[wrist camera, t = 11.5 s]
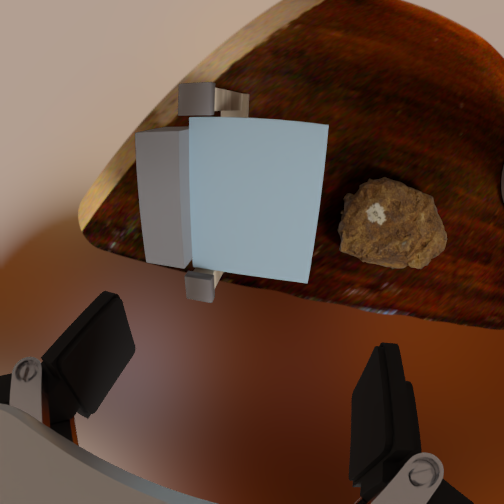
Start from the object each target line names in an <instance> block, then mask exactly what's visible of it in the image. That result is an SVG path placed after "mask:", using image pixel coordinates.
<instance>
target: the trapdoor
mask: <svg viewBox="0 0 504 504" xmlns="http://www.w3.org/2000/svg"><path fill="white" fill-rule="evenodd" d="M328 127H329V125H325V124H318V123H309V122H300V121H290V120H278V119H264V118H245V117H189V127H162V128H156V129H151V130H146V131H141V132H137V133H135V146H136V166H137V181H138V194H139V205H140V215H141V224H142V233H143V241H144V248H145V255H146V262H148V263H154V264H160V265H166V266H172V267H178V268H185V267H186V266H187V265H188V263H189V262H190V261H191V259H192V258H193V267H197V268H203V269H210V270H216V271H223V272H230V273H237V274H243V275H250V276H257V277H264V278H271V279H279V280H286V281H293V282H301V283H308V278H309V272H310V266H311V260H312V254H313V248H314V241H315V235H316V228H317V221H318V214H319V207H320V199H321V191H322V183H323V175H324V166H325V157H326V148H327V138H328Z"/></svg>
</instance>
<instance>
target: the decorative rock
mask: <svg viewBox="0 0 504 504" xmlns="http://www.w3.org/2000/svg"><path fill="white" fill-rule="evenodd" d="M344 201H345V203H344V211H343V210H342V211H341V214H342V217H341V221H340V223H339V227H338V232H339V235H340V238H341V244H340V248H339V250H340V251H341V252H344V253H348V254H350V255H352V256H355V257H358V258H359V259H361V260H362V261H363V262H367V263H374V264H378V265H382V266H385V267H391V268H405V267H406V266H410V267H412V268H417V269H422V268H423V267H424V266H425V265H426V266H427V265H428V264H429V262H430V261H431V259H432V258H434V257H436V256H438V255H439V254H440V253H441V252H442V251H443V250H444V249H445V245H446V241H447V235H446V232H445V231H444V226H443V223H442V220H441V218H440V217H439V215H438V213H437V209H436V206H435V204H434V200H433V197H432V196H430V195H427V194H425V193H422V192H421V191H419V190H416V189H413V188H411V187H407V186H406V185H405V184H403V183H402V182H398V181H394V180H391V179H389V178H386V177H383V178H380V179H376V180H372V179H369V180H368V182H366V183H363V184H361V185H360V187H359V190H358V191H357V192H356V193H355V195H353V194H351V193H347V194H346V195H345V197H344Z"/></svg>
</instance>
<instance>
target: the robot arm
mask: <svg viewBox="0 0 504 504" xmlns="http://www.w3.org/2000/svg"><path fill="white" fill-rule="evenodd" d="M501 191H502V198H503V201H504V166H503V170H502V178H501ZM134 353H135V344H134V341H133V338H132V334H131V331H130V327H129V324H128V321H127V317H126V313H125V310H124V306H123V302H122V300H121V299H120V297H119V295H118V294H115V293H111V292H107V291H104V292H102V293H101V294H100V295H99V296H98V297H97V298H96V299H95V300H94V301H93V302H92V303H91V304H90V305H89V306H88V307H87V308H86V309H85V310H84V311H83V312H82V314H81V315H80V316H79V317H78V318H77V319H76V320H75V321H74V322H73V323H72V324H71V325H70V326H69V327H68V328H67V330H65V332H64V333H63V334H62V335H61V336H60V337H59V338H58V339H57V340H56V342H55V343H54V344H53V345H52V346H51V347H50V348H49V349H48V351H47V352H46V353H45V354H44V355H43V356H42V357H41V358H42V360H43V362H42V363H40V361H39V360H38V359H36V358H34V357H26V358H23V359H21V360H20V361H19V362H18V363H17V364H16V365H15V366H14V368H13V371H12V373H11V374H7V375H2V376H0V504H217V503H213V502H210V501H206V500H203V499H199V498H196V497H192V496H189V495H186V494H183V493H180V492H177V491H174V490H171V489H168V488H166V487H163V486H161V485H158V484H155V483H153V482H150V481H148V480H145V479H143V478H141V477H138V476H136V475H134V474H131V473H129V472H127V471H125V470H123V469H121V468H119V467H117V466H114V465H113V464H110V463H109V462H107V461H105V460H103V459H101V458H99V457H97V456H95V455H93V454H92V453H90V452H88V451H86V450H85V449H83V448H81V447H79V445H78V438H77V432H76V425H75V418H74V415H75V414H76V412H78V413H79V414H80V415H82V416H84V417H86V418H89V416H90V415H91V414H93V413H95V412H96V410H97V409H98V407H99V406H100V404H101V403H102V401H103V400H104V398H105V397H106V395H107V394H108V392H109V391H110V389H111V387H112V386H113V384H114V383H115V381H116V380H117V378H118V377H119V375H120V374H121V372H122V371H123V369H124V368H125V367H126V365H127V363H128V362H129V361H130V359H131V358H132V356H133V354H134ZM351 415H352V416H351V447H350V465H349V480H350V481H351V480H352V481H353V487H361V492H360V496H361V498H360V499H359V500H358V501H357V502H356V503H355V504H474V503H473V502H472V501H470V500H469V499H468V498H467V497H465V496H464V495H463V494H461V493H460V492H459V491H458V490H456V489H455V488H454V487H452V486H451V485H450V484H449V483H448V482H446V481H445V480H444V479H443V473H444V470H443V465H442V463H441V461H440V460H439V459H438V458H437V457H436V456H435V455H432V454H430V453H421V442H420V432H419V424H418V417H417V410H416V403H415V397H414V392H413V386H412V384H411V382H409V381H405V376H404V370H403V365H402V360H401V355H400V350H399V346H398V345H397V344H393V343H381V344H380V346H376V347H375V348H374V350H373V352H372V354H371V357H370V359H369V361H368V363H367V365H366V367H365V369H364V371H363V373H362V375H361V377H360V379H359V381H358V383H357V385H356V387H355V389H354V391H353V394H352V414H351Z"/></svg>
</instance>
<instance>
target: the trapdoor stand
mask: <svg viewBox="0 0 504 504" xmlns="http://www.w3.org/2000/svg"><path fill="white" fill-rule="evenodd" d="M248 110H249V94H242V93H238V92H234V91H229V90H224V89H220V88H215V83H213V82H202V83H184V84H179V96H178V116H189V115H214V111H221V117H245V118H248ZM222 274H223V271H216V270H210V269H203V268H197V267H196V268H195V270H194V271H188V272H187V274H186V275H185V286H186V295H187V298H188V299H193V300H199V301H204V302H209V303H212V301H213V299H214V297H215V287H216V285H217V283H218V281H219V279H220V277H221V275H222Z"/></svg>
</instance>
